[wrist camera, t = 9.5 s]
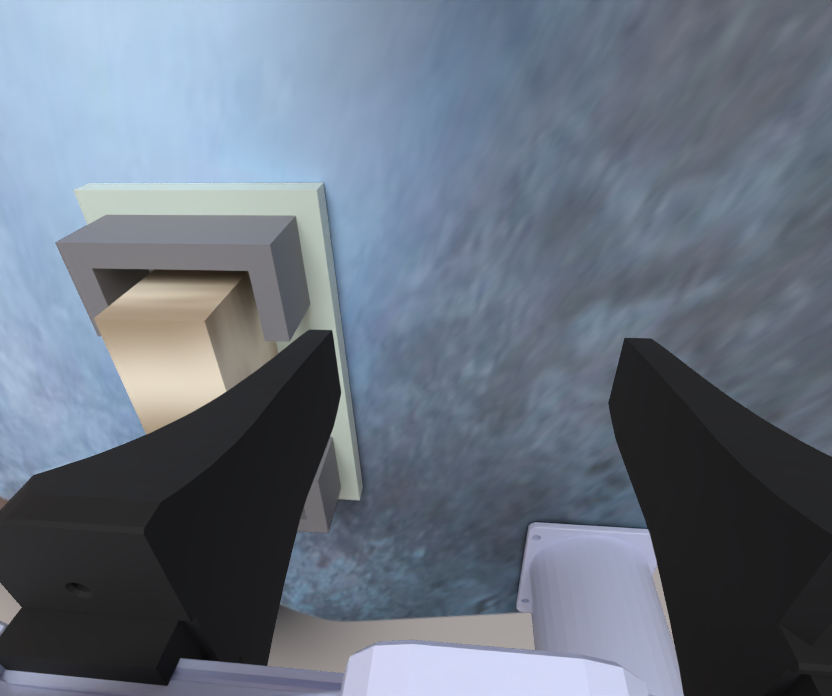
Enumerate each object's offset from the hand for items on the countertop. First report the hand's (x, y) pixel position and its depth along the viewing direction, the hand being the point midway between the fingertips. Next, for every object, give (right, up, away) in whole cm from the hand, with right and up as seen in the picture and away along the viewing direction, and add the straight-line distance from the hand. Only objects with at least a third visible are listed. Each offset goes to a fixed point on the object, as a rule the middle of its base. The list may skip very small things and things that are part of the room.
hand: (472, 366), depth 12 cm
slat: (-10, -1, +12) cm, 15 cm away
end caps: (-10, 0, +13) cm, 16 cm away
